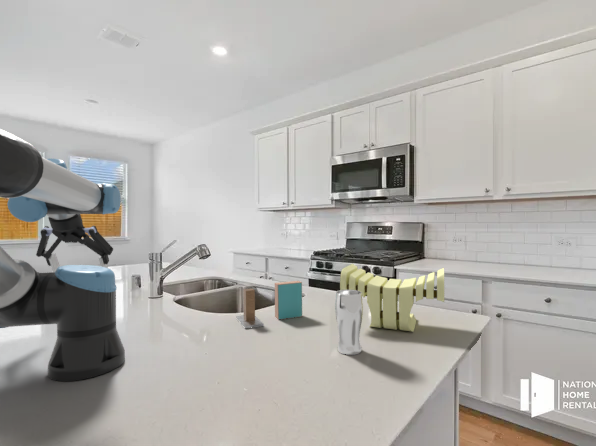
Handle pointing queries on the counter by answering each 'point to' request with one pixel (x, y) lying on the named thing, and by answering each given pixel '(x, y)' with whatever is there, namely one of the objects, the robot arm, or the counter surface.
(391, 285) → the slatted curved stool
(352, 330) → the beer glass
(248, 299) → the trowel
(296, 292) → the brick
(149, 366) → the counter surface
